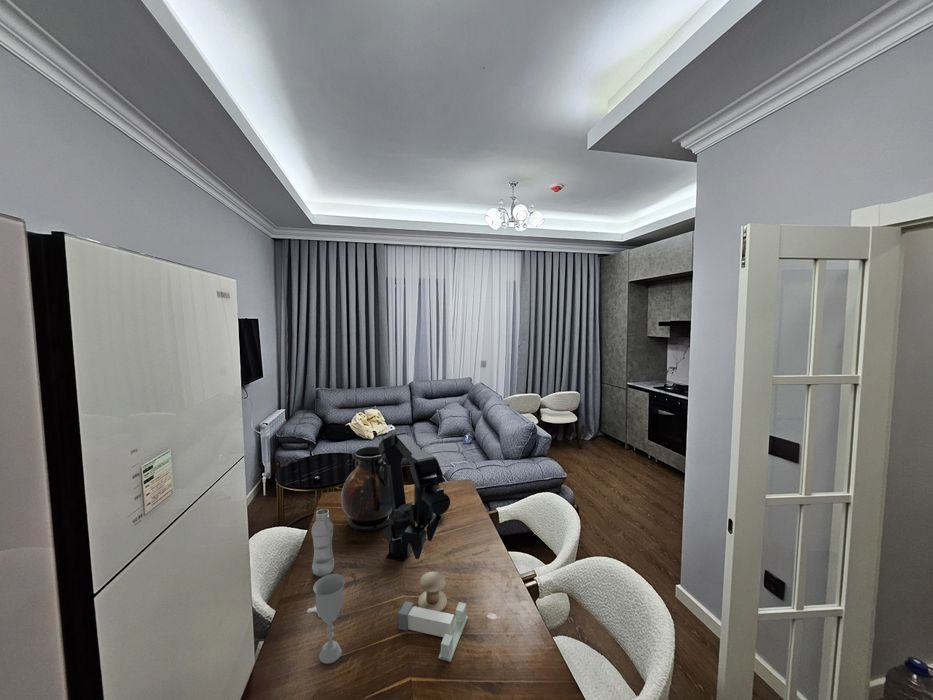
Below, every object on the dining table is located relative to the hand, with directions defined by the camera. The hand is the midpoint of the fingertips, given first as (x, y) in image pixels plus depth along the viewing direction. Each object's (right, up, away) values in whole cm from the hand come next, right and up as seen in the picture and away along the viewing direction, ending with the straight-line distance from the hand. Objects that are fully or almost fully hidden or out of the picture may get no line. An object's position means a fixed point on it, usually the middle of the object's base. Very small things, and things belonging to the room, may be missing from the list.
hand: (423, 549), depth 116 cm
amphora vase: (-25, -8, +37) cm, 45 cm away
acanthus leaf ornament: (-27, -13, -7) cm, 31 cm away
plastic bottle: (-32, -11, +7) cm, 34 cm away
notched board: (+10, -14, -16) cm, 23 cm away
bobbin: (+3, -13, -5) cm, 14 cm away
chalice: (-20, -14, -22) cm, 33 cm away
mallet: (+2, -13, -14) cm, 20 cm away
